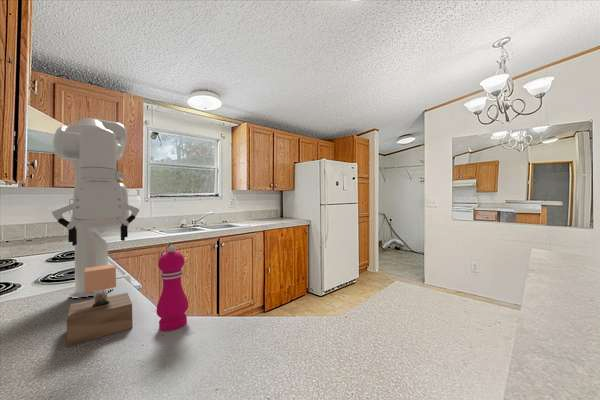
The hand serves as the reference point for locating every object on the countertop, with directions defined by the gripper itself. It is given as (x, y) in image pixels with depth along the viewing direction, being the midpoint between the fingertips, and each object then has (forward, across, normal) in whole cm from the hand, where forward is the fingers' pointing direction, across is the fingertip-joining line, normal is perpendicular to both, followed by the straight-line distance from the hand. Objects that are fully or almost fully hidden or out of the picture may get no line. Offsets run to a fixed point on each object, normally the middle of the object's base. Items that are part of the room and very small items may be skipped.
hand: (99, 242), depth 64 cm
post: (+16, 0, 0) cm, 16 cm away
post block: (+22, 0, 0) cm, 22 cm away
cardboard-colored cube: (+11, 0, 0) cm, 11 cm away
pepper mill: (+22, -14, +12) cm, 29 cm away
